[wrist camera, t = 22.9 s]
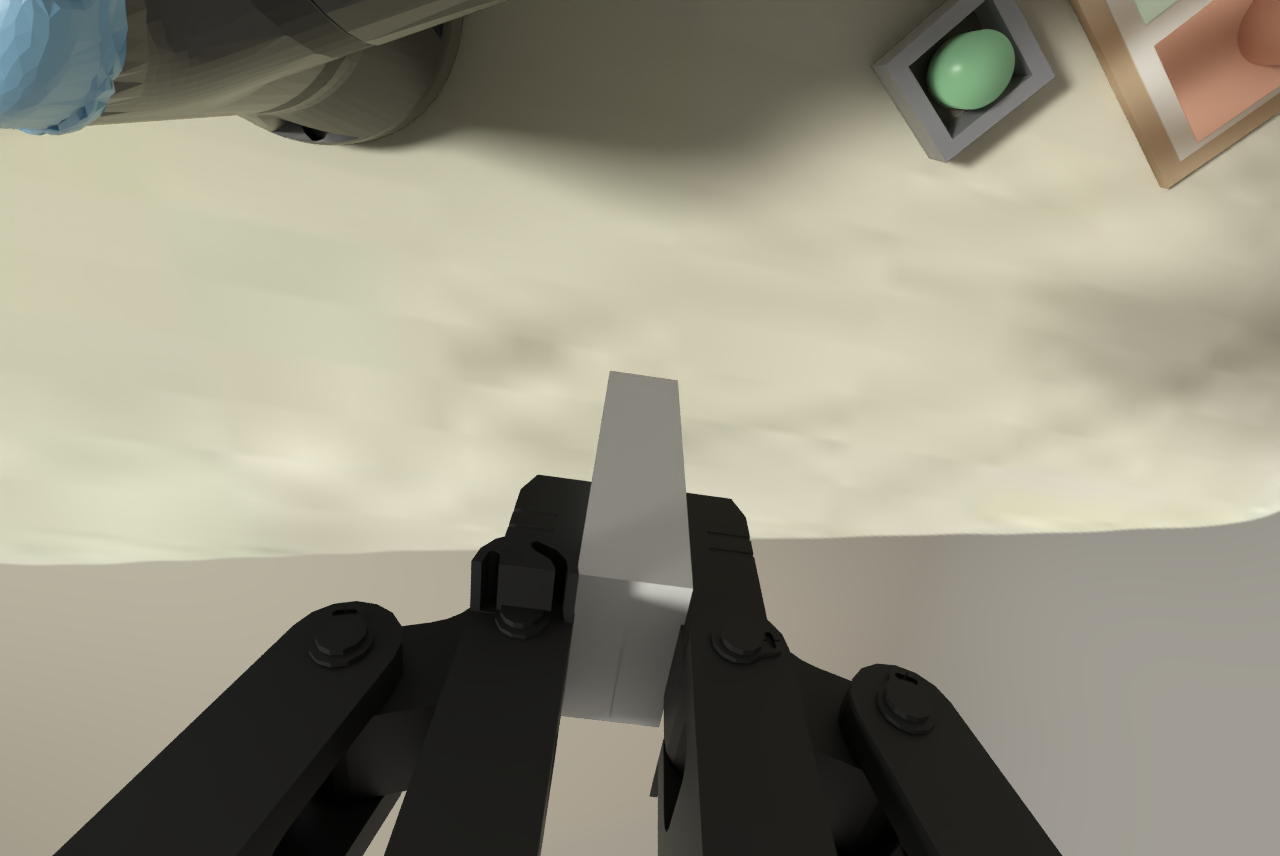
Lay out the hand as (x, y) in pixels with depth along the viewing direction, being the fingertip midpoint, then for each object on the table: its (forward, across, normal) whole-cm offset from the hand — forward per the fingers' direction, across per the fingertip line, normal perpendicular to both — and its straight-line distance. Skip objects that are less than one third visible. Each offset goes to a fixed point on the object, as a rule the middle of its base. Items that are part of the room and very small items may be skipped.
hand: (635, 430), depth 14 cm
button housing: (+26, +15, +10) cm, 32 cm away
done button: (+25, +15, +10) cm, 31 cm away
